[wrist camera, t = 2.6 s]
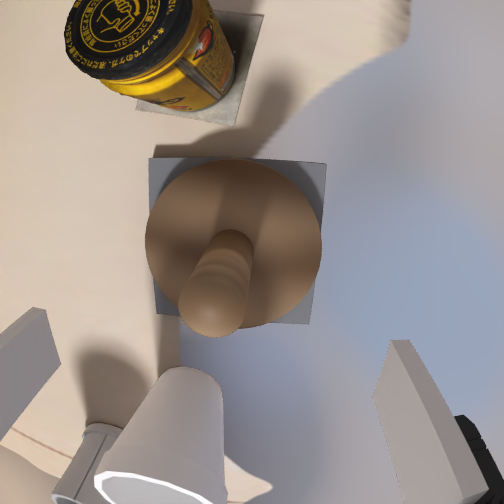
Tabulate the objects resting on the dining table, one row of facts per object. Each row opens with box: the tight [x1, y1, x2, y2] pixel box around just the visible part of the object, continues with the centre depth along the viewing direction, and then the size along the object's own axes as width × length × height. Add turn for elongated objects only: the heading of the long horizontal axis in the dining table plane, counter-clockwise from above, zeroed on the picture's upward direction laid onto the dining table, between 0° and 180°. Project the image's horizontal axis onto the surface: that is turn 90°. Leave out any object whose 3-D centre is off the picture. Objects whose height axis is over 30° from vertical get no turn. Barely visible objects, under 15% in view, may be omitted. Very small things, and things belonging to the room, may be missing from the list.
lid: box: [145, 159, 322, 337], centre depth 18 cm, size 12×12×9 cm
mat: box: [149, 157, 327, 324], centre depth 23 cm, size 12×12×1 cm
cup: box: [51, 423, 123, 504], centre depth 27 cm, size 10×9×12 cm
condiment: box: [64, 0, 263, 127], centre depth 13 cm, size 7×8×12 cm
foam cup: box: [94, 366, 228, 504], centre depth 22 cm, size 10×9×13 cm
